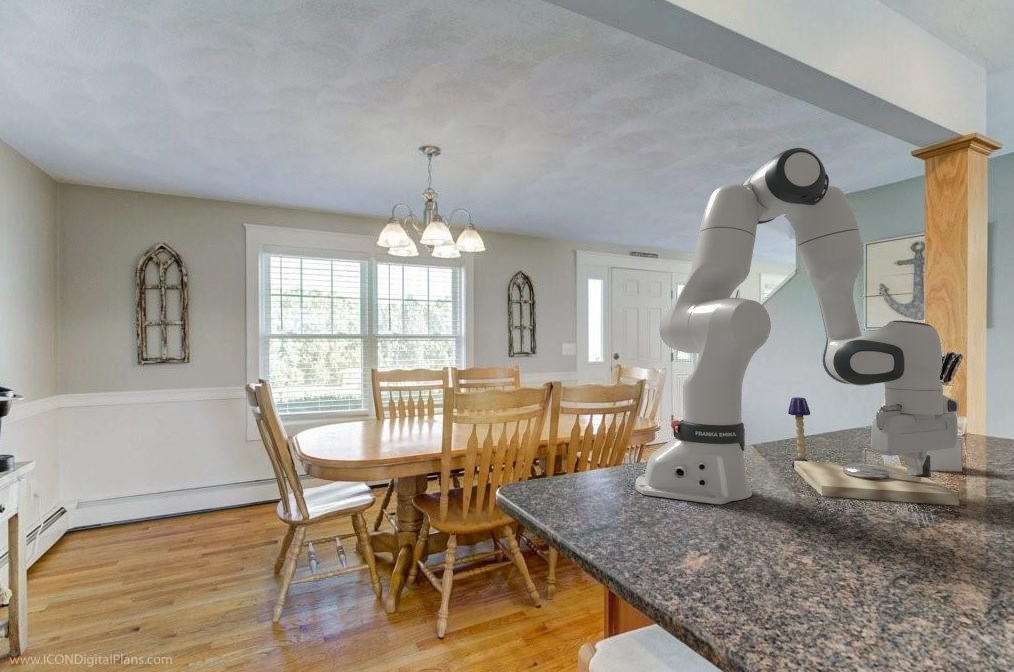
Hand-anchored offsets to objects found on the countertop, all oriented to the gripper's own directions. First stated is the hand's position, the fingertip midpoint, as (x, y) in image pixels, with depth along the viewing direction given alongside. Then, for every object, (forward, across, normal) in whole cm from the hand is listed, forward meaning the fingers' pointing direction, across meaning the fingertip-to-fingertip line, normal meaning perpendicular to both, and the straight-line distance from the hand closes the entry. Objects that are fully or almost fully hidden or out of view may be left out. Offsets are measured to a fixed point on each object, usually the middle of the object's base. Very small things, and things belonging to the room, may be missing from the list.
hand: (914, 474), depth 98 cm
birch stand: (+4, -1, +9) cm, 10 cm away
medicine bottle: (+4, +28, +12) cm, 31 cm away
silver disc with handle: (+2, 0, +6) cm, 6 cm away
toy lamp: (+4, 0, +25) cm, 26 cm away
